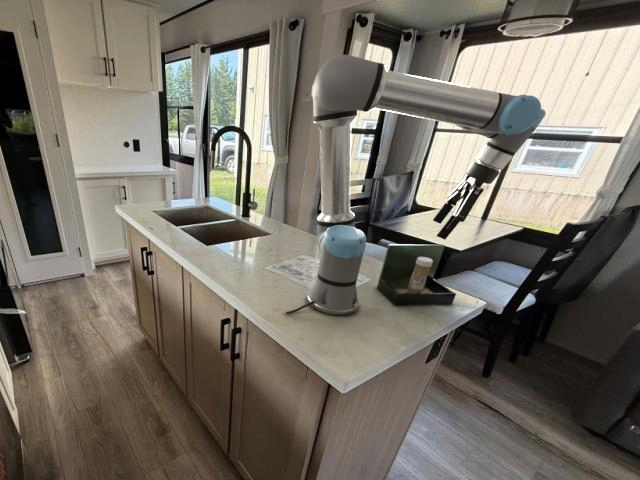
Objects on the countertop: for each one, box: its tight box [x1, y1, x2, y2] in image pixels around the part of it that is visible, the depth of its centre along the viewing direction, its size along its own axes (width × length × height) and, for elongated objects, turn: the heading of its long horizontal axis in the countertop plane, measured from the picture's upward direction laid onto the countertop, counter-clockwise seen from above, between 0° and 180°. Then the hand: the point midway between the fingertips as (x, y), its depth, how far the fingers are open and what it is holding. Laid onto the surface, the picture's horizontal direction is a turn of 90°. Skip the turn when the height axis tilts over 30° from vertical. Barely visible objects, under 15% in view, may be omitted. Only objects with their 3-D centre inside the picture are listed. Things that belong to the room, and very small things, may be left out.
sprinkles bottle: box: [405, 257, 433, 293], centre depth 107 cm, size 5×5×13 cm
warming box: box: [376, 243, 457, 307], centre depth 106 cm, size 20×13×16 cm, turn 96°
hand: (438, 229), depth 106 cm, fingers open, 13 cm apart
